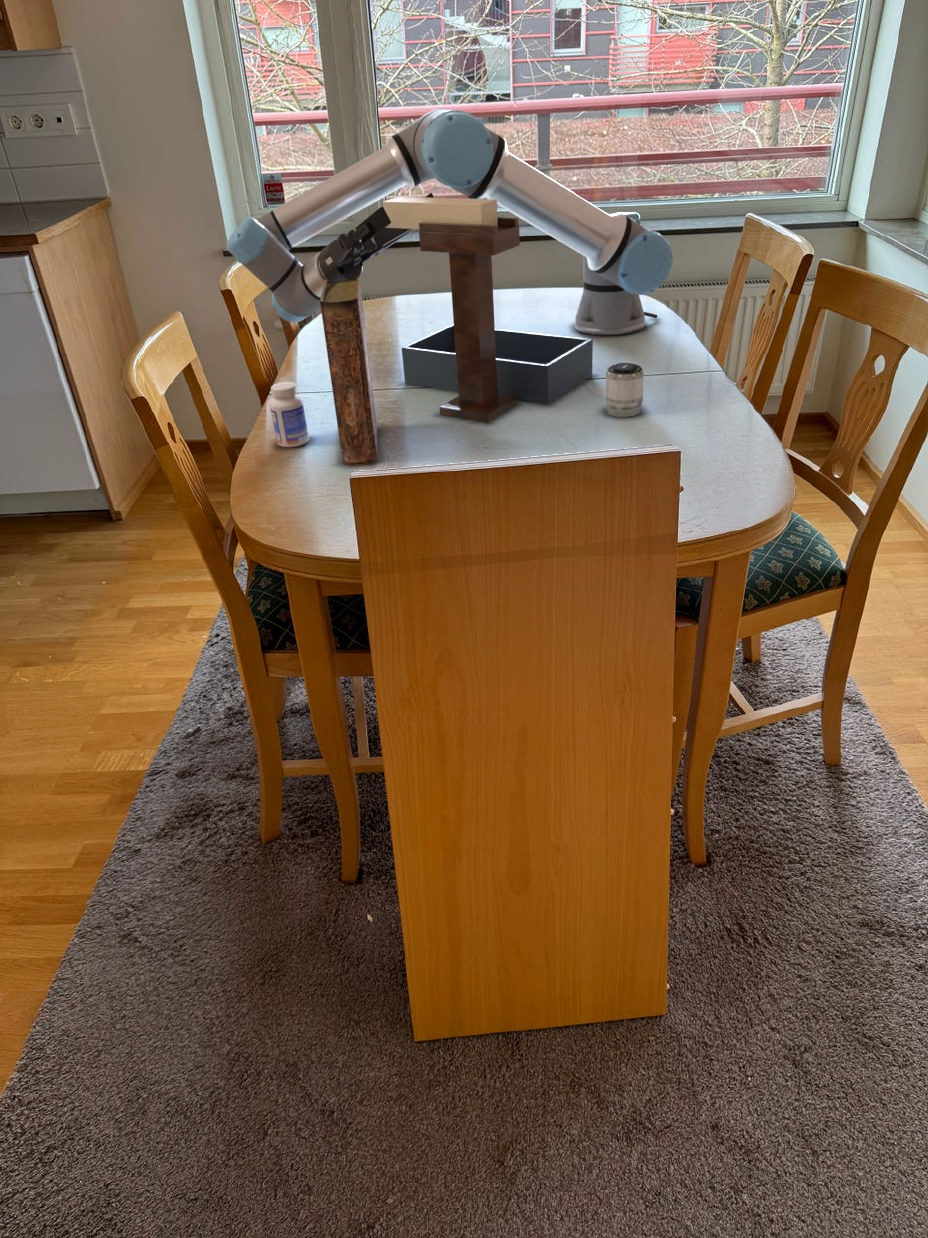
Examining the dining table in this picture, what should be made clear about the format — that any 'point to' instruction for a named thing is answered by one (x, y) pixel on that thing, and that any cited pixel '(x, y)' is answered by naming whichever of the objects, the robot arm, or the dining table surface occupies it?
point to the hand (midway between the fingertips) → (411, 207)
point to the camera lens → (624, 389)
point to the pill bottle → (288, 415)
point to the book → (350, 370)
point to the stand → (473, 311)
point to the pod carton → (439, 211)
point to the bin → (506, 363)
